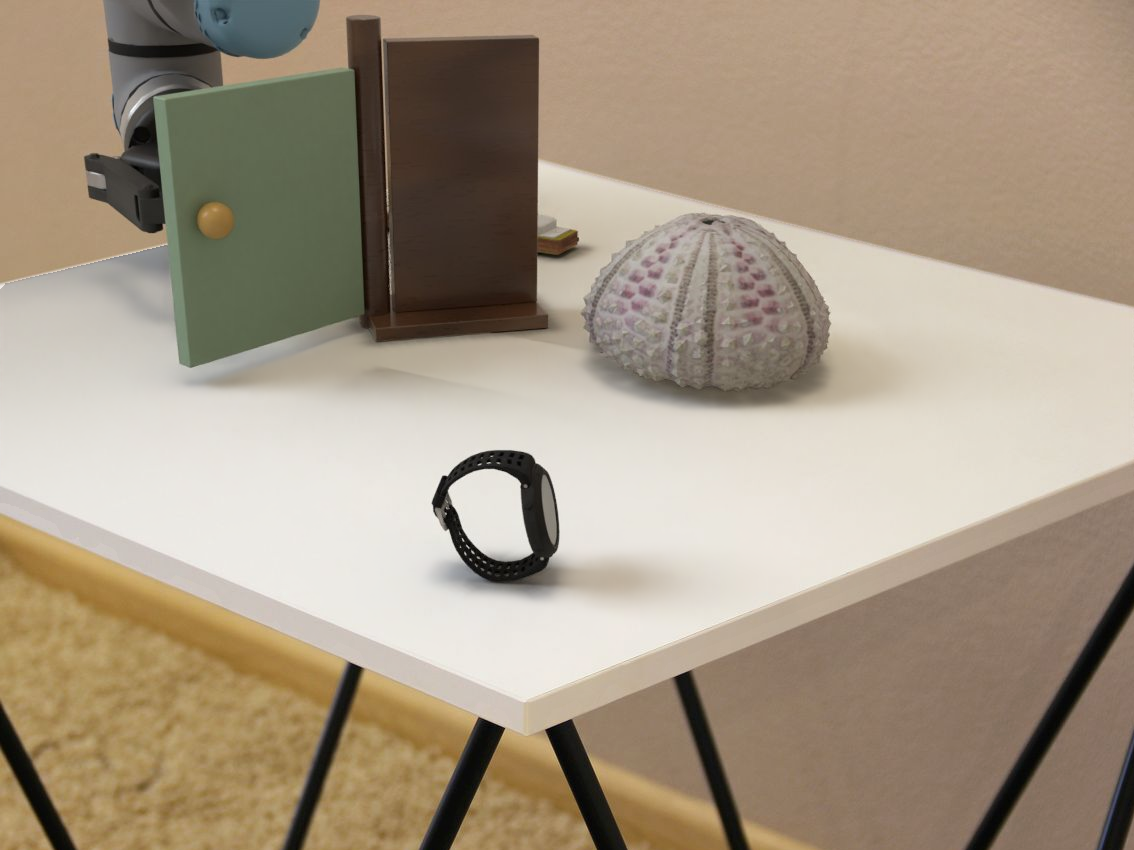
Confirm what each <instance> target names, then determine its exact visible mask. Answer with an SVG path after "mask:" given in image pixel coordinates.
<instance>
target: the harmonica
mask: <svg viewBox="0 0 1134 850" xmlns="http://www.w3.org/2000/svg"><path fill="white" fill-rule="evenodd" d="M387 220H388V229H389V204H387ZM579 242H580V237H579V230H576V229H571V228H570V227H562V226H557V218H556V217H554V216H551V215H546V214H540V213H538V240H537V254H538V253H542V254H548V255H557V256H558V255H560V254H563V253H564V252H566V251H569V250H570V249H572V248H574V247H576V246H577V245H578V243H579Z"/></svg>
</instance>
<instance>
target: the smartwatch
mask: <svg viewBox="0 0 1134 850" xmlns="http://www.w3.org/2000/svg"><path fill="white" fill-rule="evenodd" d="M482 470H495V471H498V472H499V471H500V472H503V473H506V474H508V475H510V476H511V477H513V478H515V479H516V480H517V481H518V482H519V483H520V485H519V488H520V502H521V503H520V504H521V512H522V520H523V525H524V529H525V533H526V537H527V541H528V544H529V546H530V549H531V551H532V553H530V554H529V555H527V556H525V557H523V558H521V559H517V560H511V561H508V560H507V561H503V560H496V559H495V558H492V557H489V556H488V555H487V554H485V553H483V552H482V551H481V550H480V548H478V547H477V546H476V545H475V544H474V543H473V541H471V539H470V538H469V537H468V535H467V534H466V532H465V530H464V529H463V526H462V522H461V519H460V516H459V513H458V511H457V509H456V508H455V507H454V506H453V505H454V504H453V500H452V497H451V496H450V493H449V489H450V488H451V486H452V485H454V484H455V483H456V482H457V481H459V480H461V479H462V478H463V477H465V476H468V475H470V474H471V473H474V472H478V471H482ZM554 487H555V486H554V484H553V481H552V479H551V475H550V473H549V472H548V470H547V469H545V467H543V466H542V465H541V464H539V463H536V459H535V457H534V456H533V455H532V454H530V453H528V452H525V451H521V450H514V449H513V450H512V449H493V450H486V451H480V452H477V453H475V454H472V455H470V456H468V457H467V458H465V459H464V460H462V461H460V462H459V463H458V464H456V465H455V466H454V467H453V468H452V469H451V471H450V472H449V473H448V475H446V474H445V475H441V478H440V480H439V482H438V485H437V487H436V489H435V493H434V495H433V497H432V499H431V505H432V512H433V514H434V515H435V517H436V518H437V520H438V522H439V525H440V526H441V528H442V529H443V531H445V532H447V531H448V532H449V535H450V538H451V542H452V544H453V546H454V549H455V551H456V552H457V554H458V555H459V557H460V559H461V560H462V561H463V563H464V564H465V565H466V567H468V568H469V569H470V570H471V571H472V572H473V573H474V574H475V575H478V576H479V577H480V578H482V579H484V580H487V581H490V582H496V583H504V582H512V581H519V580H522V579H525V578H528V577H532V576H535V575H536V574H539V573H540V572H543V571H544V570H545V569H546V568H547V566H548V564H549V562H550V558H552V557H553V555H554V554H556V552H557V551H558V549H559V544H560V519H559V508H558V502H557V496H556V492H555V488H554Z"/></svg>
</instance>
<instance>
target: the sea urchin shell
mask: <svg viewBox="0 0 1134 850" xmlns="http://www.w3.org/2000/svg"><path fill="white" fill-rule="evenodd" d="M797 255H798V254H796V253H794V252H792V251H791V250H790V249H789V248H788V246H787V243H786V241H782V240H780V239H779V238H777V236H776V234H775V233H774V232H770V231H768V230H767V229H766V228H764V227H763V226H762V224H759V223H758V222H756V221H755V220H753V219H750V218H746V217H742V216H738V215H737V216H736V215H733V214H727V215H726V214H725V215H721V214H716V213H715V214H709V213H706V212H697V213H696V212H690V213H687V214H686V213H685V214H681V215H679V216H676V217H675V218H672V219H671V220H669V221H667V222H666V223H664V224H662V225H658V224H657V225H654V228H653V229H651V230H648V231H645V230H644V231H643V232H642V233H641V235H640V236H639V237H637V238H635V239H631V240H629V239H628V240H625V245H624V247H623V248H622V249H621V250H620V251H618V252H614V253H611V254H610V256H611V257H610V258H611V259H610V262H609V263H608V264H607V265H605V266H603V267H601V268H600V269H599V275H598V276H597V277H595V278H594V282H593V283H592V284H591V285H590V292H588V293H587V294H586V295H585V296H583V297H582V299H583V301H584V304H585V306H584V308H583V309H582V310H581V311H580V314H581V316H582V317H583V318H584V320H585V322H584V325H583V327H582V328H583V330H585V331H586V332H587V333H589V343H590V344H592V345H596V346H597V347H598V350H599V353H600V354H603V357H604V358H606V359H609V360H612V361H615V363H616V365H617V366H618V367H619V368H620V369H622V370H632V371H633V373H634V374H638V376H640V377H641V376H643V377H644V378H645V379H646V380H647V379H652V380H653V381H654V382H658V381H659V382H661V381H664V380H670V381H673V382H675V383H676V384H677V385H678V386H680V387H681V388H684V387H687V386H690V387H691V388H692V387H693V388H695V389H697V390H701V389H702V388H704V387H708V386H713V387H716V388H718V389H721V390H722V391H724V392H726V393H727V392H729V391H736V392H737V393H738V392H739V393H740V392H741V391H743V390H745V389H751V390H752V389H753V390H758V389H759V388H765V389H767V390H769V389H770V388H775V387H776V386H777V385H778V384H779V383H781V382H789V380H790V379H791V380H796V378H798V376H799V375H800V374H807V373H809V370H810V368H811V366H812V365H816V364H820V363H821V362H820V361H821V355H824V352H825V351H826V350H827V349H828V344H829V337H830V336H831V334H830V332H829V331H830V327H831V325H832V321H831V320H830V314H831V311H829V308H830V306H829V305H828V304H826V300H825V297H824V296H823V295H822V293H821V291H820V289H819V287H818V285H817V284H816V280H814V279H813V277H812V276H811V275H810V273H809V271H808V270H807V269H806V268H805V266H804V265H803V264H802V262H801V261H800V260H799V258H798V256H797Z"/></svg>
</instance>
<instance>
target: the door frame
mask: <svg viewBox="0 0 1134 850" xmlns="http://www.w3.org/2000/svg"><path fill="white" fill-rule="evenodd" d="M381 19H382V18H381V16H378V15H372V14H354V15H353V14H352V15H348V16H346V18H345V22H346V23H345V25H346V45H347V46H346V47H347V48H346V50H347V69H353V70H354V75H355V98H356V122H357V146H358V170H359V194H360V218H361V242H362V265H363V289H364V315H360V316H358V321H359V322H358V324H359V326H360V327H362V328H363V329H368V330H369V331H370V332H371V334H372V336H373V338H374V339H375V341H376V342H388V341H389V342H390V341H399V340H400V341H401V340H412V339H427V338H438V337H439V338H440V337H449V336H461V335H475V334H486V333H499V332H500V333H501V332H509V331H510V332H511V331H522V330H523V331H524V330H537V329H548V328H549V314H548V313H547V312H546V310H544V309H543V308H542V306H541V305H540V304H539V303H538V253H537V240H538V214H539V122H540V121H539V119H540V118H539V114H540V113H539V111H540V110H539V109H540V108H539V106H540V105H539V104H540V38H539V37H538V36H536V35H534V34H518V35H515V34H514V35H513V34H511V35H510V34H509V35H476V36H475V35H472V36H431V37H392V38H391V37H387V38H383V39H382V22H381ZM387 205H389V228H388V220H387Z"/></svg>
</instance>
